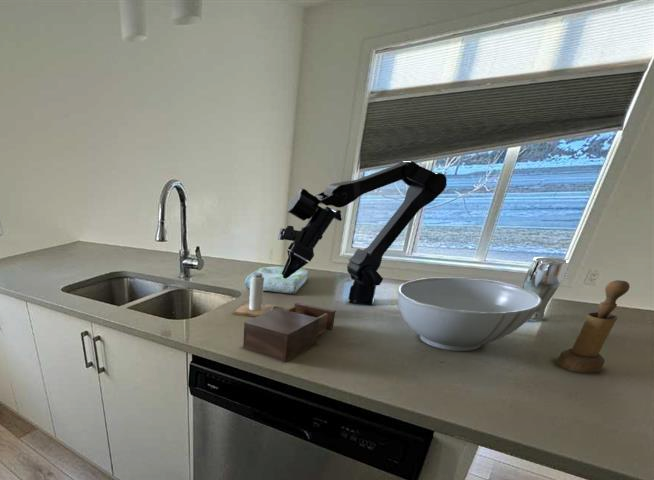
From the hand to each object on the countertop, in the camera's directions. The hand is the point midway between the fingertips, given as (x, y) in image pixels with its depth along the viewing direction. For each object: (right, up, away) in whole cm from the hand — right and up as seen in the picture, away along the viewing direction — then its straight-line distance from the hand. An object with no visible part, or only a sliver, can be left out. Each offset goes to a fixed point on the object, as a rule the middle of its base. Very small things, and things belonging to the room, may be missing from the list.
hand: (283, 276), depth 123 cm
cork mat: (-7, -10, +5) cm, 13 cm away
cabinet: (-8, -23, -19) cm, 31 cm away
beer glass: (+60, -15, -16) cm, 64 cm away
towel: (+7, +4, +26) cm, 27 cm away
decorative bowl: (+33, -22, -24) cm, 46 cm away
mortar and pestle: (+48, -29, -39) cm, 69 cm away
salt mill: (-7, -9, +5) cm, 12 cm away
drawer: (0, -18, -14) cm, 23 cm away
